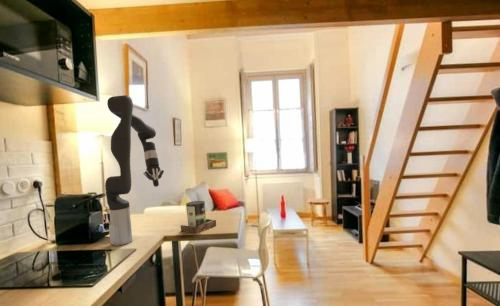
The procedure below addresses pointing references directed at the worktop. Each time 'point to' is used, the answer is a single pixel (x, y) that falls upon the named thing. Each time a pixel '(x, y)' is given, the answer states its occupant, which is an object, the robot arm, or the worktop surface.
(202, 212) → the coffee can
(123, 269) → the worktop surface
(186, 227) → the walnut bay
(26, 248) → the worktop surface
